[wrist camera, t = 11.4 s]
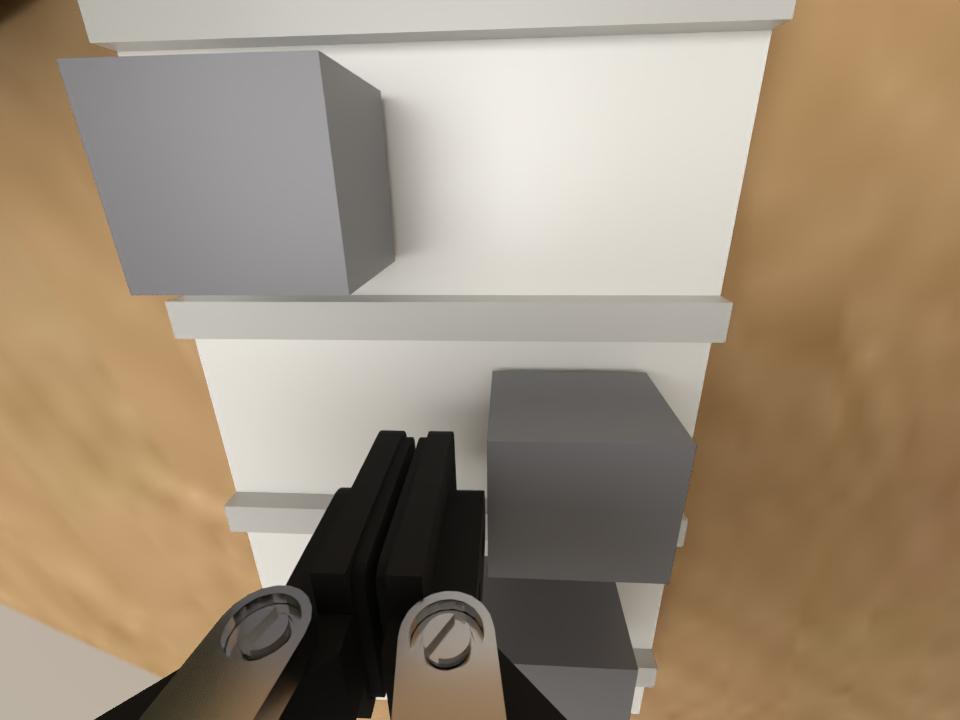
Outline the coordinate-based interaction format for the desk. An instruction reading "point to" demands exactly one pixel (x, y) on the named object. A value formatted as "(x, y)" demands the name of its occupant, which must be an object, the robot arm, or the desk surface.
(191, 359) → the desk surface
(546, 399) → the tab
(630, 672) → the tab
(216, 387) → the switch board
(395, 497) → the robot arm
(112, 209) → the tab
